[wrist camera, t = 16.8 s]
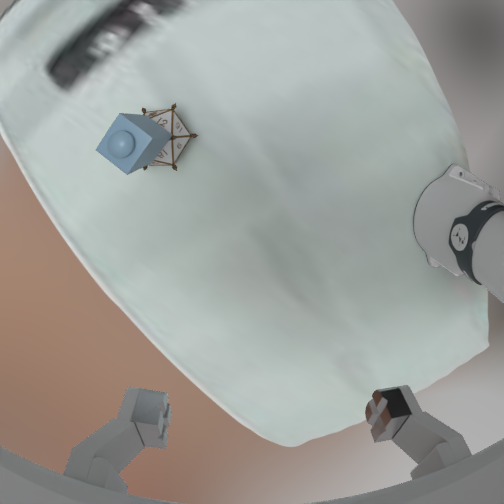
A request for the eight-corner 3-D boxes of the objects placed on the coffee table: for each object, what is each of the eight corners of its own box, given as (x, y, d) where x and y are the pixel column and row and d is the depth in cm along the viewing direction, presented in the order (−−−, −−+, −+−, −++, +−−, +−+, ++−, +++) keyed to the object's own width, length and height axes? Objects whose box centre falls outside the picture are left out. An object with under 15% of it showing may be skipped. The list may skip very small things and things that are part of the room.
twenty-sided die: (171, 148, 42) (137, 194, 36) (139, 105, 36) (96, 147, 31) (217, 132, 37) (185, 180, 32) (184, 80, 31) (140, 121, 26)
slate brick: (172, 135, 30) (150, 138, 22) (151, 163, 31) (124, 176, 23) (146, 115, 29) (116, 113, 21) (126, 143, 30) (91, 150, 22)
